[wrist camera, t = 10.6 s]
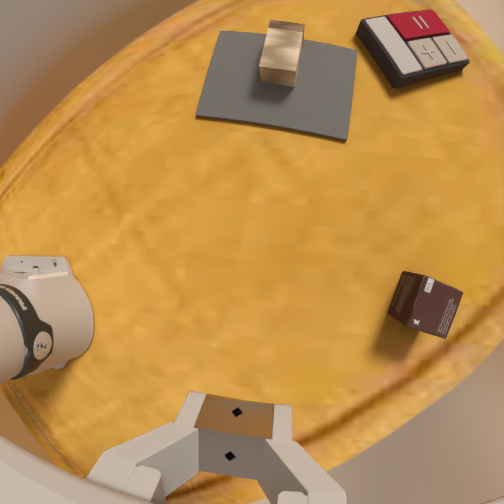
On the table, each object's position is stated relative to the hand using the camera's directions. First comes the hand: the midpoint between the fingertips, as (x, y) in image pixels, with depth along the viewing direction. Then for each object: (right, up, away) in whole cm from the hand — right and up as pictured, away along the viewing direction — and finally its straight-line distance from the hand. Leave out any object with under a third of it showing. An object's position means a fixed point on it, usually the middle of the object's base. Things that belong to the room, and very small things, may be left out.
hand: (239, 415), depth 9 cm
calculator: (+25, +36, +29) cm, 52 cm away
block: (+4, +27, +28) cm, 39 cm away
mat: (+4, +28, +31) cm, 42 cm away
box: (+22, -1, +31) cm, 37 cm away
